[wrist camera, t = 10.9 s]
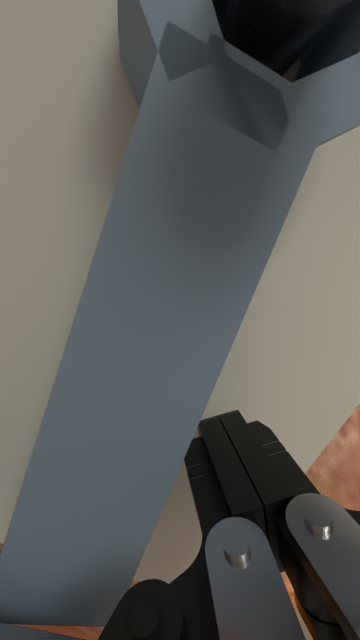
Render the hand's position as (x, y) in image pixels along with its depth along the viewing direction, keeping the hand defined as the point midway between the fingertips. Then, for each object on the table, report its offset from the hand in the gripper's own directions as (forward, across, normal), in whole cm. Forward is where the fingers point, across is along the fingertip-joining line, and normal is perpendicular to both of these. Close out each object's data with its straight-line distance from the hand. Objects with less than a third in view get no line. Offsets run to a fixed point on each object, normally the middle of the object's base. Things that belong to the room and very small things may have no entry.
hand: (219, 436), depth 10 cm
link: (+1, +1, -6) cm, 6 cm away
